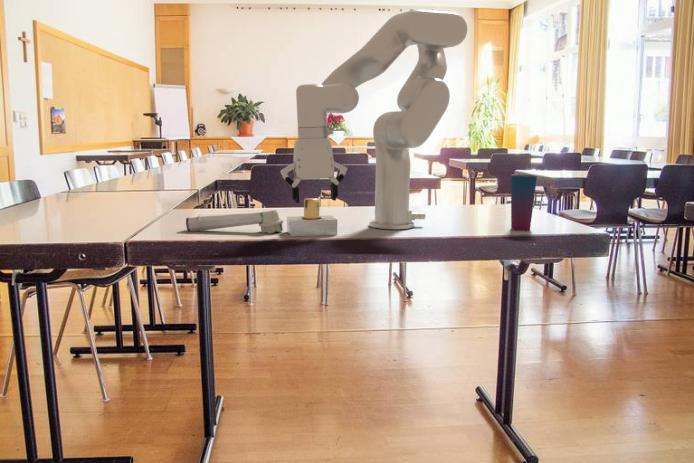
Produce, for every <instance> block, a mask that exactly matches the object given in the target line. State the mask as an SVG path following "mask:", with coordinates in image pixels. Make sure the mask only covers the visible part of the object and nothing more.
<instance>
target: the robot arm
mask: <svg viewBox="0 0 694 463" xmlns="http://www.w3.org/2000/svg"><path fill="white" fill-rule="evenodd" d="M467 34H468V24H467V21H466V20H465V18H464V17H463V16H462V15H460V14H459V13H456V12H451V11H441V10H439V11H438V10H430V9H429V10H428V9H427V10H426V9H412V10H408V11H405V12H401V13H397V14H395V15H392V16H391V17H390V18H389V19H388V20H387V21H385V23H384V24H382V26H381V27H380V29H378V30H377V32H375V34H374V35H373V36H372V37H371V38H370V39H369V40H368V41H367V42H366V43H365V44H364V45H363V46H362V48H360V49H359V50H358V51H356V52H355V53H354V54H353V55H351V56H350V57H349V58H348V59H347V60H345V61H344V62H342V63H341V64H340V65H339V66H337V68H335V69H334V70H333V71H332V72H331V73H330V74H329V75H328V76H327V78H325V79H324V81H323V82H321V84H319V83H318V84H317V83H307V84H301V85H298V86H297V88H296V90H295V93H296V94H295V95H296V114H297V115H296V119H297V139H296V140H294V145H293V146H294V148H293V163H291V164H289V165H287V166H286V167H284V168H283V169H281V170H280V172H279V173H280V174H281V175H282V176H281V177H282V178H283V179H284V181H285V182H287V184H288V185H289V186H290V187H291V196H292V200H294V202H295V203H296V204H299V203H300V190H299V189H300V188H299V187H298V185H299V183H300V182H301V181H303V180H306V181H307V180H325V179H328V180H329V181H330V182H331V184H330V185H329V186H330V200H332V201H335V202H336V201H337V197H339V190H338V188H339V187H338V186H339V184H340V182H342V180H343V179H344V178H345V176H346V173H347V171H348V167H346V166H345V165H343V164H341V163H338V162H337V161H335V160H334V153H333V147H332V142H331V139H330V138H329V136H330V135H333V134H334V130H333V128H331V129H330V128H329V127H328V114H347V113H349V112H352V111H354V109H356V107H357V106H358V105H359V101H360V96H359V92H358V90H357V89H356V88H358V87H359V86H362V84H364V83H366V82H369V81H371V80H374V79H376V78H377V77H379V76H381V75H382V74H384V73H385V72H386V71H387V70H388V69H389V68H390V67H391V65H392V64H393V63H394V62H395V61H396V60H397V59H398V58H399V57H400V56H401V54H402V53H403V52H404V51H405V50H406V49H407V48H409V47H410V46H414V45H416V46H417V51H418V61H417V62H416V64H415V67H414V68H413V70H412V71H411V73H410V74H409V76H408V78H407V79H406V81H405V82H404V84H403V85H402V87H401V89H400V91H399V92H398V94H397V99H396V101H397V102H396V103H397V107H398V108H399V111H398V110H396V111H387V112H385V113H383V114H381V115H379V116H378V117H377V119H376V120H375V121H374V124H373V128H372V132H373V133H372V136H373V142H374V148H375V183H374V184H375V185H374V187H375V188H374V192H375V194H374V219H372V220H369V222H368V224H369V226H370V227H371V228H374V229H381V230H409V229H412V228H414V227H415V222H414V221H415V220H426V213H425V212H415V211H413V210H411V209H410V186H411V181H410V180H411V158H410V154H409V153H410V152H409V149H415V148H418V147H421V146H422V145H424V144H425V143H426V142H427V140H428V139H429V137H430V136H431V135H432V133H433V131H434V130H435V129H436V127H437V125H439V124H438V123H439V122H440V121H441V119H442V118H443V115H444V114H445V113H446V111H447V108H448V106H449V103H450V98H451V96H450V90H449V87H448V84H447V83H446V82H445V81H443V80H444V79H445V77H446V73H447V70H448V67H447V66H448V64H447V58H446V54H445V49H447V48H452V47H453V48H454V47H456V46H459V45H460V44H462V43H463V42H464V40H466V37H467ZM335 168H337V169H338V170H339V173H338V175H337V176H335ZM291 171H293V175H294V178H293V179H292V178H291V177H290V176H289V175H288V173H290V172H291Z"/></svg>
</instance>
